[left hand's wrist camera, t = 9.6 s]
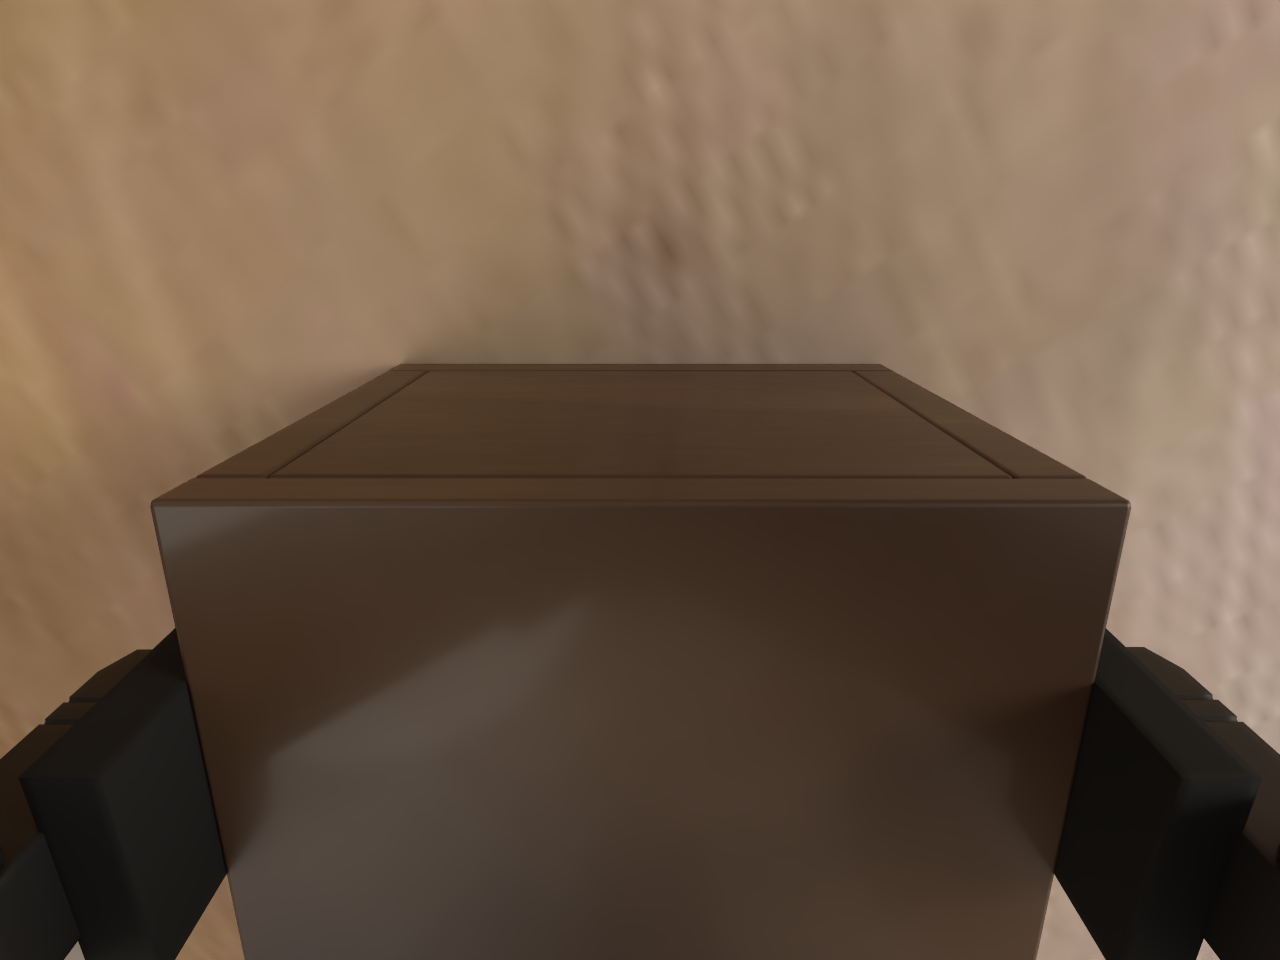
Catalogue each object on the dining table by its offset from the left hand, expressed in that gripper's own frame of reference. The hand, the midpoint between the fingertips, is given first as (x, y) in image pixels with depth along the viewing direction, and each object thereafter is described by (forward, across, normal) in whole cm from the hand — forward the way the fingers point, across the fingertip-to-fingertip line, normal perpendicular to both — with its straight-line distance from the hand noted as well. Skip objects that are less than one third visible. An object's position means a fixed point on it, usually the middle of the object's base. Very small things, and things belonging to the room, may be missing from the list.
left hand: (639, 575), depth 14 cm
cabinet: (+3, 0, -6) cm, 6 cm away
